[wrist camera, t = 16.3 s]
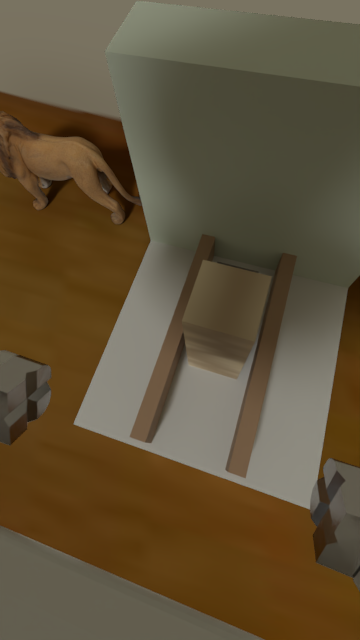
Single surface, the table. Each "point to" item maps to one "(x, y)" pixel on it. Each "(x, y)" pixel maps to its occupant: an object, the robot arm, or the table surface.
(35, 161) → the lion figurine
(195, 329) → the beige wooden block
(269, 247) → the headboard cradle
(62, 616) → the robot arm
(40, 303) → the table surface
